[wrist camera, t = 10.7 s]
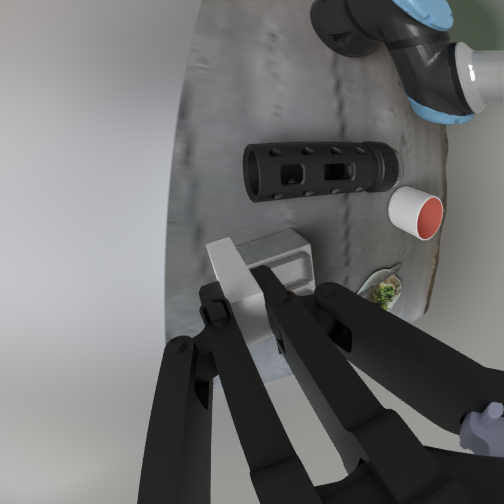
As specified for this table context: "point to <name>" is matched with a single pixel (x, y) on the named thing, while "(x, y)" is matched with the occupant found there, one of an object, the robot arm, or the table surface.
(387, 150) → the muzzle brake
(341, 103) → the table surface
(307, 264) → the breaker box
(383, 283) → the salad plate
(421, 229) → the cup
